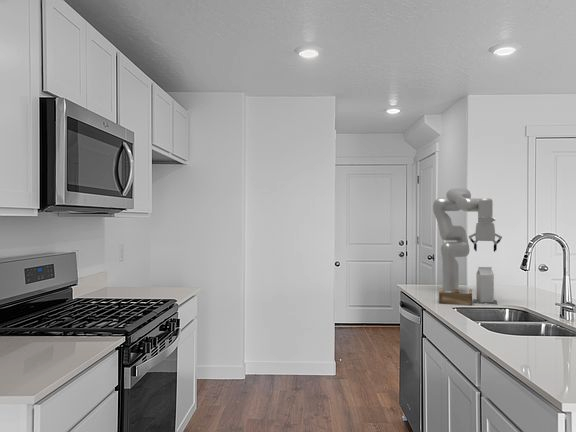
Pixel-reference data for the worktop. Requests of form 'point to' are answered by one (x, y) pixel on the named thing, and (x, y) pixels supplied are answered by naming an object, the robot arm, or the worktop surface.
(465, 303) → the rack
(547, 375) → the worktop surface
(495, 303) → the mat
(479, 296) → the milk carton
